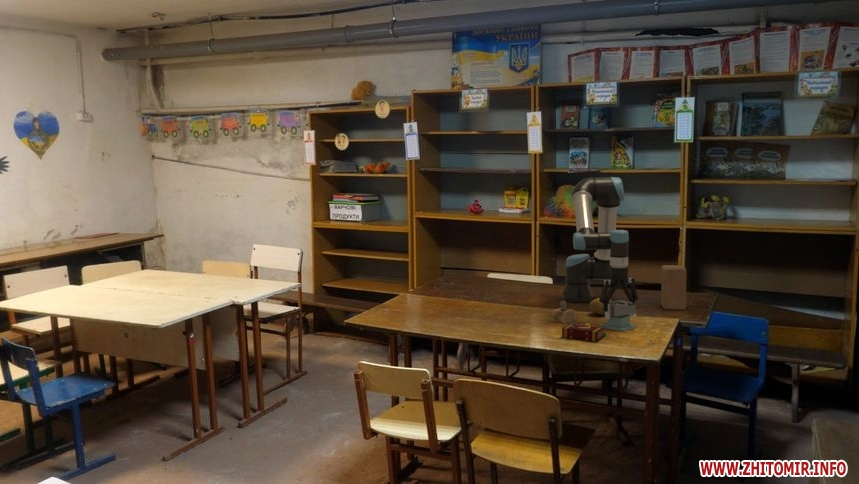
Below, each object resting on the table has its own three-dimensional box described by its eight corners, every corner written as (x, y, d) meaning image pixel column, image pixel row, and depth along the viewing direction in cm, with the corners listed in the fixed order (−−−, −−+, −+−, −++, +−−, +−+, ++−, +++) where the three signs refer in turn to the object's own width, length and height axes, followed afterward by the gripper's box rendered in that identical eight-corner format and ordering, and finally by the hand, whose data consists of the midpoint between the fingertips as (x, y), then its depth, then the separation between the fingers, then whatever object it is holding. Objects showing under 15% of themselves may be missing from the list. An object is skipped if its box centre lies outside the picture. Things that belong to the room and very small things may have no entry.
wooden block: (686, 310, 310) (686, 268, 308) (663, 309, 312) (664, 268, 310) (682, 305, 320) (683, 265, 317) (660, 305, 322) (661, 264, 319)
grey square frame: (602, 311, 286) (602, 302, 285) (622, 309, 288) (622, 300, 288) (614, 316, 276) (614, 306, 276) (635, 314, 279) (635, 304, 278)
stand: (552, 321, 296) (552, 301, 295) (561, 318, 301) (561, 299, 300) (565, 323, 291) (565, 303, 290) (574, 320, 296) (574, 301, 295)
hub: (600, 327, 283) (600, 304, 282) (613, 322, 291) (613, 300, 289) (623, 331, 275) (623, 308, 274) (636, 326, 283) (637, 303, 282)
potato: (617, 312, 309) (617, 296, 308) (604, 318, 298) (604, 301, 297) (598, 310, 315) (598, 293, 314) (584, 315, 305) (584, 298, 304)
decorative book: (597, 343, 260) (597, 330, 260) (558, 338, 269) (558, 326, 268) (606, 336, 270) (606, 324, 269) (568, 331, 278) (568, 320, 278)
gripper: (599, 269, 273) (599, 322, 276) (647, 266, 279) (646, 317, 282) (590, 267, 280) (590, 318, 283) (637, 263, 286) (636, 313, 289)
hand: (618, 317), depth 282 cm, fingers closed on grey square frame, 10 cm apart
